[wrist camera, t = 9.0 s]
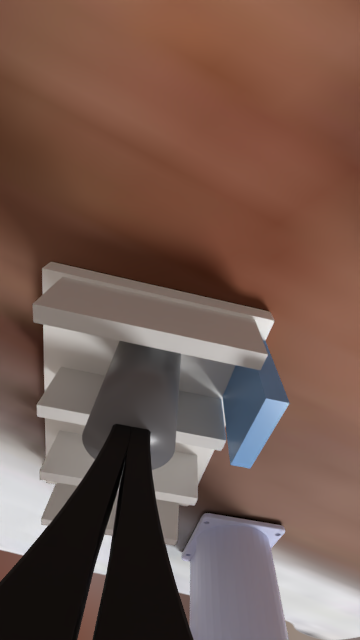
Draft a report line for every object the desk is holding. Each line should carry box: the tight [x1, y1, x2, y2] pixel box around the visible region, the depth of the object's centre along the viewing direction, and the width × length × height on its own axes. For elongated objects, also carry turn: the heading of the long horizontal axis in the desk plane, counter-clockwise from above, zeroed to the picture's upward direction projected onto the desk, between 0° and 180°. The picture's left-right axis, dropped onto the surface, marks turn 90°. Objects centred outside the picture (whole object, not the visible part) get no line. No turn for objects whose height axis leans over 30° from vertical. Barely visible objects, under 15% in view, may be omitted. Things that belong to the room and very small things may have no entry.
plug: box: [82, 341, 181, 470], centre depth 13 cm, size 4×4×6 cm
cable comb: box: [33, 262, 289, 545], centre depth 17 cm, size 19×12×6 cm, turn 167°
